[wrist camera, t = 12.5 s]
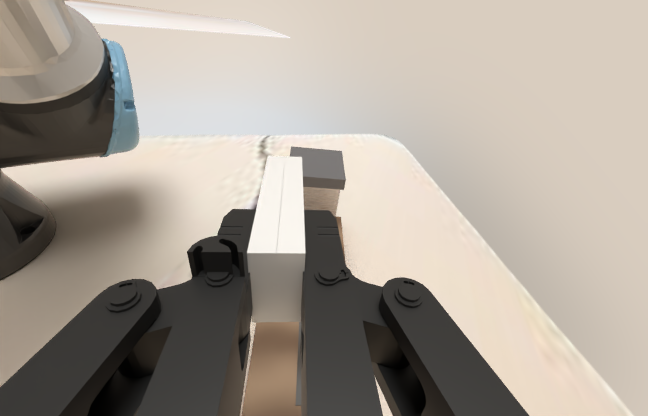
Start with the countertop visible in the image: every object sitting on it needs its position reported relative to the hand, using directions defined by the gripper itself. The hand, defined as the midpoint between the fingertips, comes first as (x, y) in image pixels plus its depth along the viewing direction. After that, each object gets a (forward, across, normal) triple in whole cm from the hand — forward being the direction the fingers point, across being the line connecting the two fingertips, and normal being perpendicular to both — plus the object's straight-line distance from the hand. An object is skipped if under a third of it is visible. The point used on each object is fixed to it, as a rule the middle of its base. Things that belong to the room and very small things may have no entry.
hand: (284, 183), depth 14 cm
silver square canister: (+18, +2, -19) cm, 26 cm away
